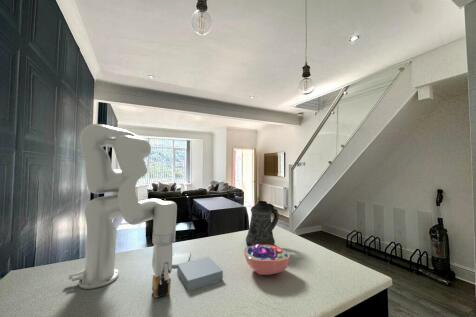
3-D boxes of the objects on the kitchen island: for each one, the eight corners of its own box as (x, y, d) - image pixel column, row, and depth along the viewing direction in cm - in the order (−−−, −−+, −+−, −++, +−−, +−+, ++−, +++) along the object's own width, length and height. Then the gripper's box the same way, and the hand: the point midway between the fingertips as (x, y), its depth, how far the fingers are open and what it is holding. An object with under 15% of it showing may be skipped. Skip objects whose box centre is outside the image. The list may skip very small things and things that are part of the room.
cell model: (291, 286, 73) (291, 256, 73) (239, 279, 77) (240, 250, 77) (289, 265, 89) (289, 240, 90) (246, 259, 93) (246, 236, 94)
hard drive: (186, 264, 86) (190, 252, 98) (167, 265, 85) (174, 252, 97) (186, 268, 85) (190, 255, 98) (167, 269, 85) (174, 255, 97)
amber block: (154, 297, 64) (155, 282, 64) (152, 289, 68) (152, 274, 68) (170, 293, 67) (170, 278, 67) (166, 285, 71) (167, 271, 71)
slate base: (187, 292, 69) (188, 280, 69) (177, 273, 81) (177, 263, 81) (222, 281, 76) (222, 270, 77) (208, 265, 88) (208, 256, 88)
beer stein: (240, 246, 110) (240, 201, 111) (257, 236, 125) (258, 197, 126) (265, 254, 100) (266, 205, 101) (281, 243, 115) (282, 200, 116)
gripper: (149, 231, 73) (145, 280, 73) (157, 248, 59) (153, 309, 58) (169, 228, 77) (166, 275, 77) (181, 243, 63) (178, 301, 62)
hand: (161, 289), depth 67 cm, fingers closed on amber block, 5 cm apart
